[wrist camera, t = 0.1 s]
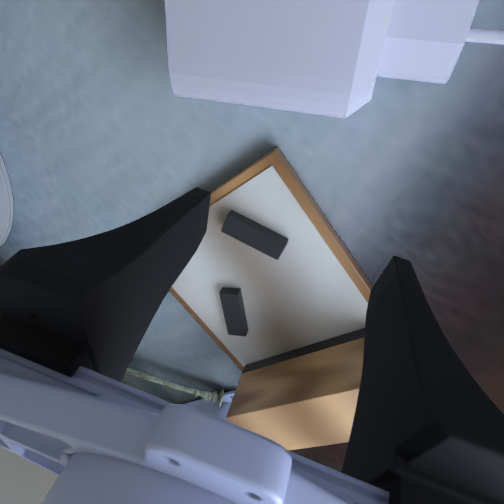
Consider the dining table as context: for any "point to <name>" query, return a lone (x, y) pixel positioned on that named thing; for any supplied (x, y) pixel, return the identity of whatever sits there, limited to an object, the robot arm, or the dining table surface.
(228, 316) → the black angular block
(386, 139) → the dining table surface
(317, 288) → the whiteboard
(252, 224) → the dark grey rectangular block
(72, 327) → the robot arm
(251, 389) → the eraser
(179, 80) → the charger
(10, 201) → the kettle
